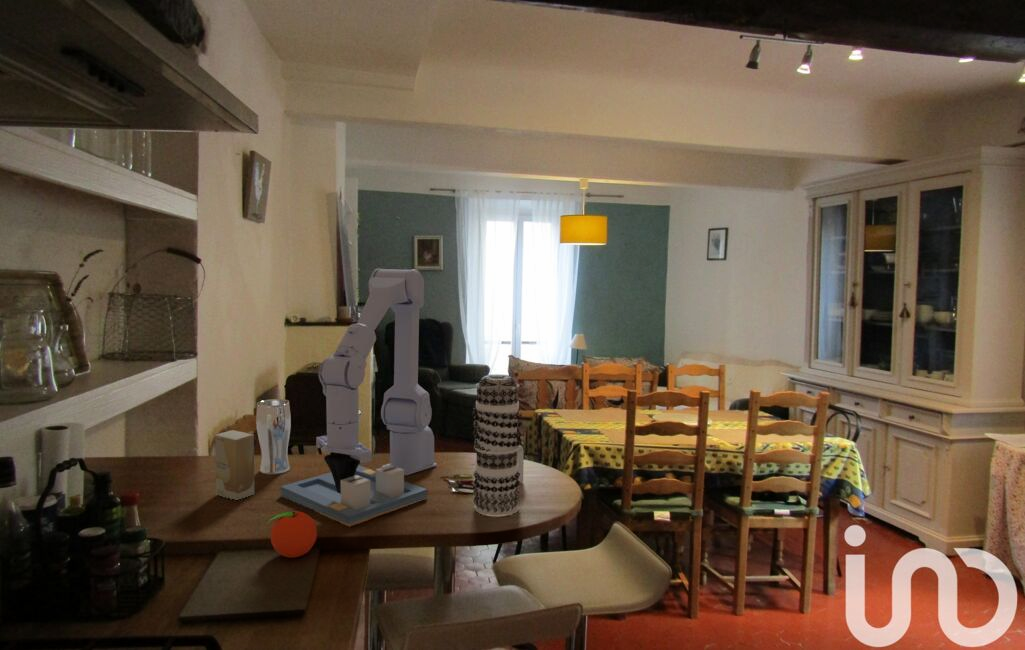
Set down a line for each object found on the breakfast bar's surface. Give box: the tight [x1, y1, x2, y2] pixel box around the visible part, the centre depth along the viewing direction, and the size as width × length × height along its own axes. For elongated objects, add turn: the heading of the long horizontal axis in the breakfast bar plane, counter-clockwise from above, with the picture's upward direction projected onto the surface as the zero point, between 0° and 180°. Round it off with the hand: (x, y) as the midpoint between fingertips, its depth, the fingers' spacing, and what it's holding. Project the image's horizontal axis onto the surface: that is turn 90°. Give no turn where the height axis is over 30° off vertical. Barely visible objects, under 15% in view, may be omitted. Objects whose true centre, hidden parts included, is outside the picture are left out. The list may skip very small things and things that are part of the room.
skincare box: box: [214, 429, 255, 501], centre depth 131 cm, size 6×4×12 cm
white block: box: [375, 465, 405, 498], centre depth 130 cm, size 4×4×5 cm
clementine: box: [263, 511, 318, 559], centre depth 106 cm, size 8×7×7 cm
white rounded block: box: [517, 444, 525, 485], centre depth 139 cm, size 4×6×12 cm
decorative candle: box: [471, 374, 523, 515], centre depth 125 cm, size 9×9×25 cm
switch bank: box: [280, 464, 428, 524], centre depth 131 cm, size 18×22×2 cm
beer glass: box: [255, 398, 292, 476], centre depth 146 cm, size 7×7×15 cm
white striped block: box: [341, 475, 371, 510], centre depth 124 cm, size 4×4×5 cm
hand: (343, 491), depth 126 cm, fingers closed
